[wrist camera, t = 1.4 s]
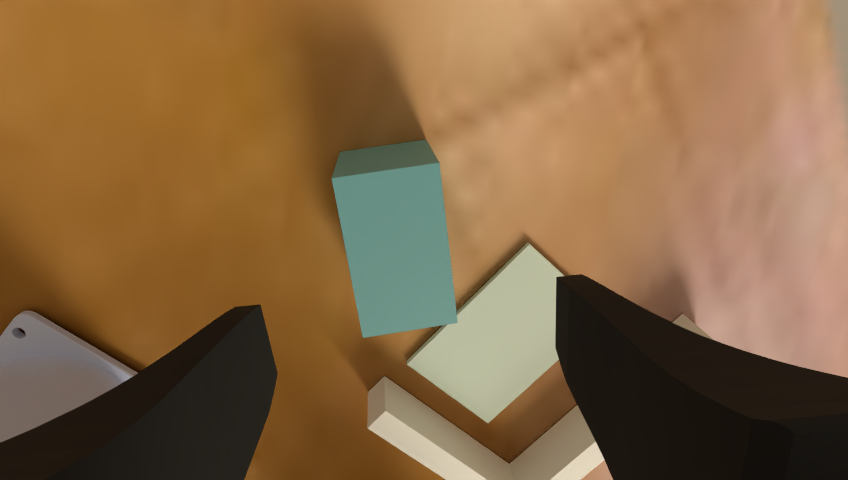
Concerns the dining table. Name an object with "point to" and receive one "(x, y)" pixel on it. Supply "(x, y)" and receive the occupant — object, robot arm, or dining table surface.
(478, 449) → the corner walls
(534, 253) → the pad
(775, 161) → the dining table surface
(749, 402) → the robot arm
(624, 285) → the dining table surface
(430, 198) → the teal brick
